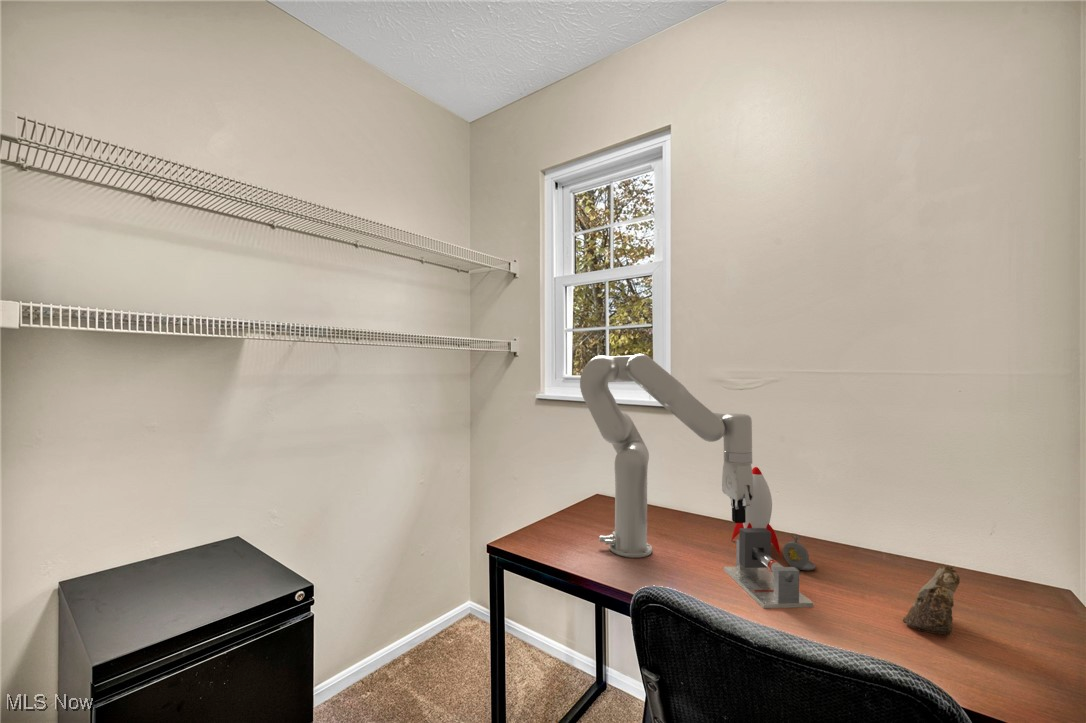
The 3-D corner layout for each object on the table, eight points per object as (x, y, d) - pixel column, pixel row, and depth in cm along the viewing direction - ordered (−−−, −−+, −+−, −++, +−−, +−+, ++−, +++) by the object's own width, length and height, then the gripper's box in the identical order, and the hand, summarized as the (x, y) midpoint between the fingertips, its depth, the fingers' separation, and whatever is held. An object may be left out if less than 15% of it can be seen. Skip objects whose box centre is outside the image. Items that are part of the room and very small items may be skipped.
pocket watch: (812, 563, 133) (812, 528, 133) (819, 576, 125) (819, 538, 125) (780, 559, 135) (780, 524, 136) (784, 571, 127) (785, 534, 128)
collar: (744, 567, 121) (745, 532, 121) (739, 563, 124) (739, 528, 124) (770, 567, 122) (771, 532, 122) (764, 562, 125) (764, 528, 125)
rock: (899, 569, 112) (919, 548, 101) (940, 582, 109) (964, 562, 98) (894, 632, 105) (914, 617, 94) (937, 648, 102) (963, 635, 91)
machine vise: (763, 608, 108) (764, 571, 108) (723, 570, 128) (724, 539, 128) (813, 607, 108) (813, 570, 109) (766, 569, 128) (766, 538, 128)
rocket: (767, 542, 148) (768, 463, 149) (781, 556, 138) (782, 471, 138) (731, 540, 150) (731, 462, 150) (742, 554, 139) (742, 470, 139)
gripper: (713, 453, 140) (714, 514, 140) (737, 463, 125) (738, 531, 125) (737, 452, 141) (738, 513, 141) (764, 462, 126) (765, 530, 126)
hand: (738, 521), depth 133 cm, fingers closed
